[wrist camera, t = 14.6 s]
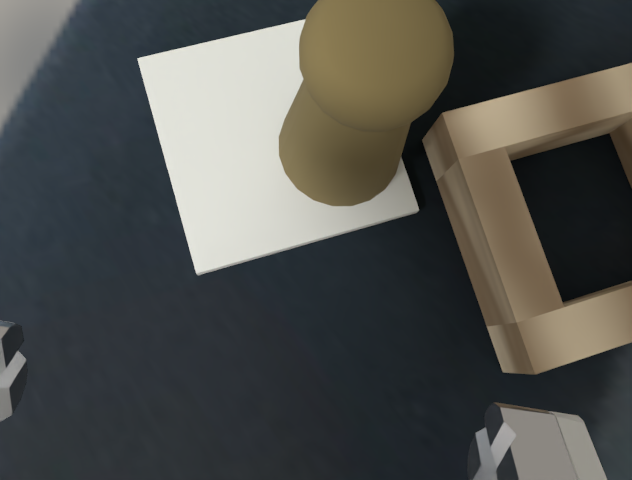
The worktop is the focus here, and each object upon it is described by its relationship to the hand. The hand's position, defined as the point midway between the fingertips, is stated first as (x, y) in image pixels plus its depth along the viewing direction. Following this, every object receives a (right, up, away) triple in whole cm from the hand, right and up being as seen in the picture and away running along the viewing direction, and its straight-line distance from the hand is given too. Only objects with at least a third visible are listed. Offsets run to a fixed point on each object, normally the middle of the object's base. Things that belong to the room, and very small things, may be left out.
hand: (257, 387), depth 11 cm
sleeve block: (+14, +4, +20) cm, 24 cm away
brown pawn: (+2, +7, +19) cm, 21 cm away
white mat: (-1, +8, +19) cm, 21 cm away
